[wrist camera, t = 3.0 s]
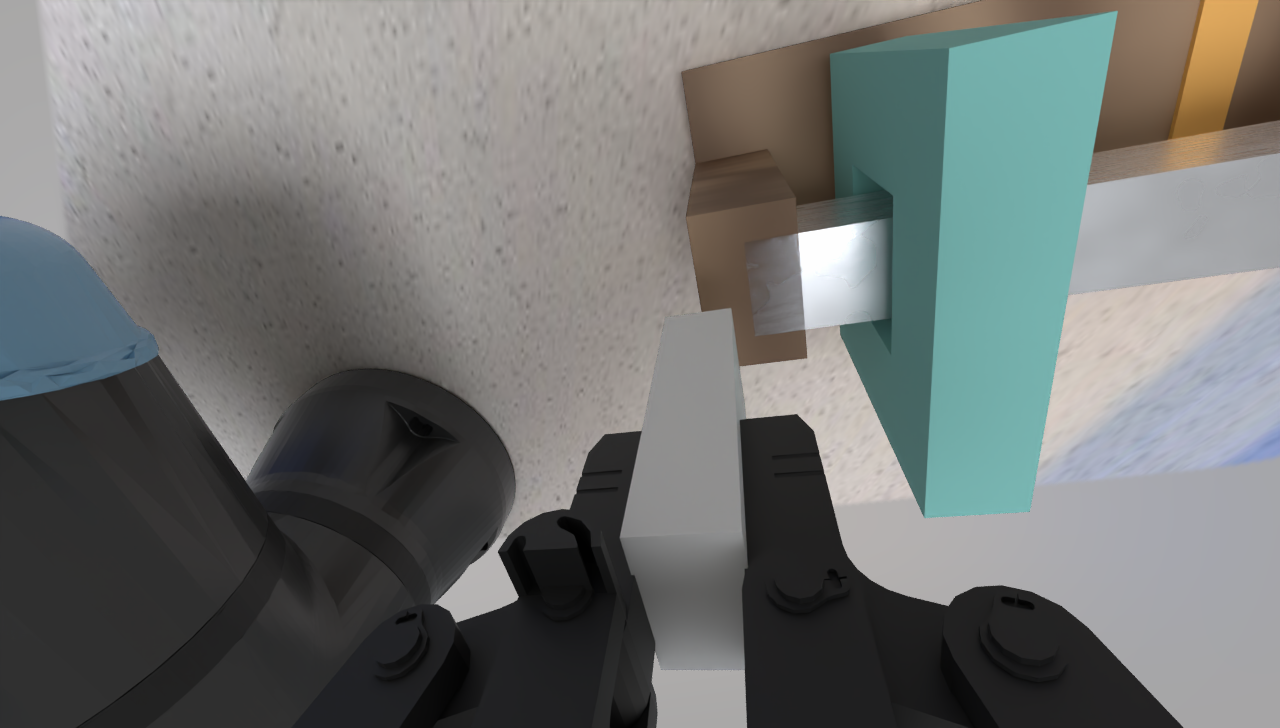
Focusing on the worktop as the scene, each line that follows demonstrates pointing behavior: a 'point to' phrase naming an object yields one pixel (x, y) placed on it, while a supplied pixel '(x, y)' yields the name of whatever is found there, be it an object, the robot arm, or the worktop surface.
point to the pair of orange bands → (1212, 66)
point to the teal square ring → (971, 240)
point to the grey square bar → (1108, 236)
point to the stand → (803, 134)
